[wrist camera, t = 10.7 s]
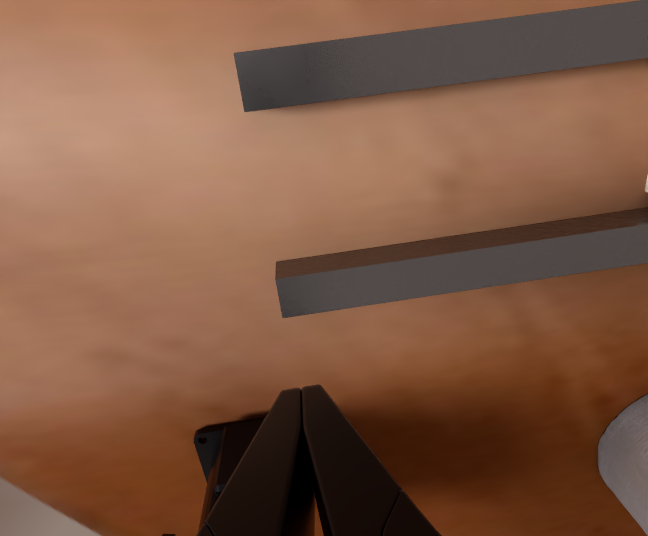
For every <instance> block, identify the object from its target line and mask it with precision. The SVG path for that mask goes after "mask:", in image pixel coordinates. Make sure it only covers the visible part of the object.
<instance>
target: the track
mask: <svg viewBox="0 0 648 536" xmlns="http://www.w3.org/2000/svg"><path fill="white" fill-rule="evenodd" d="M234 57H235V63H236V68H237V74H238V79H239V85H240V90H241V95H242V101H243V106H244V112H249V111H257V110H264V109H272V108H279V107H287V106H294V105H302V104H309V103H317V102H324V101H331V100H339V99H346V98H354V97H361V96H369V95H376V94H384V93H391V92H399V91H406V90H414V89H421V88H428V87H436V86H443V85H451V84H458V83H466V82H473V81H481V80H488V79H496V78H503V77H511V76H518V75H525V74H533V73H540V72H548V71H555V70H563V69H570V68H578V67H585V66H593V65H600V64H608V63H615V62H623V61H630V60H637V59H645V58H648V0H641V1H633V2H626V3H618V4H610V5H602V6H595V7H587V8H579V9H571V10H564V11H556V12H548V13H540V14H533V15H525V16H517V17H509V18H502V19H494V20H486V21H478V22H471V23H463V24H455V25H447V26H440V27H432V28H424V29H416V30H409V31H401V32H393V33H385V34H378V35H370V36H362V37H354V38H347V39H339V40H331V41H323V42H316V43H308V44H300V45H292V46H285V47H277V48H269V49H261V50H254V51H246V52H238V53H234ZM644 263H648V208H641V209H635V210H628V211H621V212H614V213H607V214H600V215H594V216H587V217H580V218H573V219H566V220H560V221H553V222H546V223H539V224H532V225H525V226H519V227H512V228H505V229H498V230H491V231H485V232H478V233H471V234H464V235H457V236H450V237H444V238H437V239H430V240H423V241H416V242H410V243H403V244H396V245H389V246H382V247H376V248H369V249H362V250H355V251H348V252H341V253H335V254H328V255H321V256H314V257H307V258H301V259H294V260H287V261H280V262H276V278H275V279H276V285H277V290H278V296H279V301H280V306H281V312H282V317H283V318H287V317H294V316H300V315H307V314H314V313H320V312H327V311H333V310H340V309H347V308H353V307H360V306H366V305H373V304H380V303H386V302H393V301H399V300H406V299H413V298H419V297H426V296H432V295H439V294H446V293H452V292H459V291H465V290H472V289H479V288H485V287H492V286H498V285H505V284H512V283H518V282H525V281H531V280H538V279H545V278H551V277H558V276H565V275H571V274H578V273H584V272H591V271H598V270H604V269H611V268H617V267H624V266H631V265H637V264H644Z"/></svg>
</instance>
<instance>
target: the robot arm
mask: <svg viewBox="0 0 648 536" xmlns="http://www.w3.org/2000/svg"><path fill="white" fill-rule="evenodd" d="M201 437H205V438H201ZM194 444H195V447H196V450H197V453H198V456H199V459H200V462H201V465H202V468H203V472H204V475H205V478H206V481H207V488H206V493H205V499H204V504H203V509H202V515H201V520H200V525H199V531H198V534H197V535H196V536H314V524H315V498H316V502H317V507H318V512H319V516H320V521H321V525H322V529H323V534H324V536H441V535H440V534H439V532H438V531H437V530H436V529H435V528H434V527H433V526H432V525H431V523H430V522H429V521H428V520H427V519H426V517H425V516H424V515H423V514H422V513H421V511H420V510H419V509H418V508H417V507H416V505H415V504H414V503H413V502H412V500H411V499H410V498H409V496H408V495H407V494H406V493H405V492H404V491H402V488H401V487H400V485H399V484H398V483H397V481H396V480H395V479H394V478H393V476H392V475H391V474H390V473H389V471H388V470H387V469H386V467H385V466H384V465H383V464H382V462H381V461H380V460H379V459H378V457H377V456H376V455H375V453H374V452H373V451H372V450H371V448H370V447H369V446H368V445H367V443H366V442H365V441H364V439H363V438H362V437H361V436H360V434H359V433H358V432H357V430H356V429H355V428H354V427H353V425H352V424H351V423H350V422H349V420H348V419H347V418H346V416H345V415H344V414H343V413H342V411H341V410H340V409H339V408H338V406H337V405H336V404H335V402H334V401H333V400H332V399H331V397H330V396H329V395H328V394H327V392H326V391H325V390H324V388H323V387H322V386H321V385H312V386H306V387H303V388H302V390H301V389H300V388H293V389H286V390H282V391H281V392H280V394H279V396H278V397H277V399H276V401H275V402H274V404H273V406H272V408H271V409H270V411H269V413H268V414H267V416H266V418H264V419H257V420H251V421H245V422H239V423H232V424H226V425H220V426H214V427H207V428H201V429H199V430H197V431H196V433H195V436H194ZM162 536H175V534H163V535H162Z"/></svg>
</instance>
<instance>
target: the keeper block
mask: <svg viewBox="0 0 648 536" xmlns="http://www.w3.org/2000/svg"><path fill="white" fill-rule="evenodd" d="M645 192H647V193H648V175H647V181H646V187H645Z"/></svg>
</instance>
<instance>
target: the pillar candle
mask: <svg viewBox="0 0 648 536" xmlns="http://www.w3.org/2000/svg"><path fill="white" fill-rule="evenodd" d="M598 467H599V471H600V475H601V477H602V478H603V480H604V482H605V483H606V484H607V486H608V487H609V488H610V489H611V490H612V491H613V493H614V494H615V495H616V497H617V498H618V499H619V501H620V502H621V503H622V504H623V506H624V507H625V508H626V509H627V511H628V512H629V513H630V514H631V515H632V517H633V518H634V519H635V520H636V521H637V523H638V524H639V525H640V526H641V528H642V529H643V530H644V532H645V533H646V534H647V536H648V394H647V395H645V396H643V397H642V398H640V399H638V400H637V401H635V402H634V403H632V404H630V405H629V406H628V407H627V408H625V409H624V410H623V411H622V412H621V413H620V414H619V415H618V416H617V418H615V419H614V420H613V421H612V422H611V423H610V425H609V426H608V427H607V428H606V431H605V432H604V434H603V435H602V437H601V438H600V441H599V445H598Z"/></svg>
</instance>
